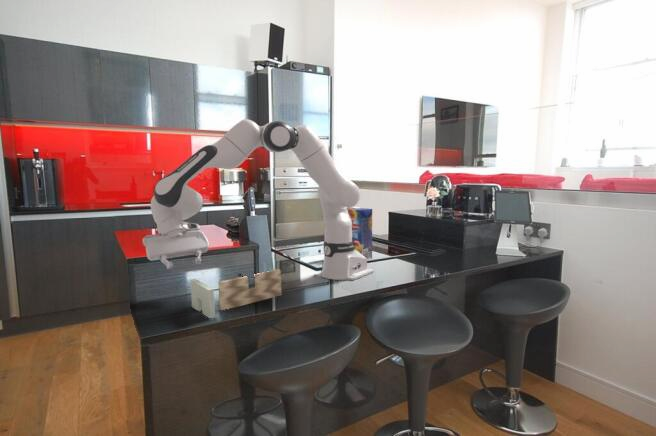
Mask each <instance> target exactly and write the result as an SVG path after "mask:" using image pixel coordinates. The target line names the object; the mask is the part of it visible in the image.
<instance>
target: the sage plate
mask: <svg viewBox="0 0 656 436" xmlns="http://www.w3.org/2000/svg"><path fill="white" fill-rule="evenodd" d="M189 281H190V294H191V295H190V297H191V299H190V300H191V307H192V308H193V309H194V310H196V311H197V310H198V311H199V312H202V315H203V314H204V315H205V316H207V317H208V318H214V317H215V318H216V309H215V306H216V305H215V293H214V292H215V291H214V290H215V289H214V288H213V287H211V286H208V285H207V284H205V283H204V282H202V281H200V280H198V279H197V278H193V279H190V280H189ZM201 310H202V311H201ZM198 311H197V312H198ZM204 315H203V316H204ZM205 316H204V317H205ZM207 317H206V318H207ZM208 318H207V319H208Z"/></svg>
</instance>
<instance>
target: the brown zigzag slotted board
mask: <svg viewBox="0 0 656 436" xmlns="http://www.w3.org/2000/svg"><path fill="white" fill-rule="evenodd" d="M270 270H271V269H270ZM281 272H282V270H281V269H280V268H277V269H273V270H271V271H267V272H262V273H257V274H254V277H255V278H254V287H249V279H248V277H247V276H243V277H242V276H240V277H235V278H230V279H226V280H221V281H218V294H219V310H220V309H221V310H220V311H222V310H224V311H226V310H225V309H227V310H230V308H231V309H234V308H238V307H242V306H245V305H249V304H252V303H257V302H260V301H264V300H268V299H272V298H275V297H279V296H282V273H281Z"/></svg>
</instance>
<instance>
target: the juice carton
mask: <svg viewBox="0 0 656 436" xmlns="http://www.w3.org/2000/svg"><path fill="white" fill-rule="evenodd" d="M347 210H348V214H349V217H350V219H351V222H352V241H353V242H354V241H359V242H360V245H359V246H355V250H357V251H358V252H359V253H360V254H362V255H363V256H364V257H365V258H366V260H367V259H368V260H372V259H373V208H367V207H357V206H356V207H355V206H353V207H350V208H347ZM368 260H367V261H368Z"/></svg>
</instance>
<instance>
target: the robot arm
mask: <svg viewBox="0 0 656 436" xmlns="http://www.w3.org/2000/svg"><path fill="white" fill-rule="evenodd" d="M258 148H261V149H263V150H265V151H268V152H272V153H280V152H281V153H282V152H285V151H288V150H291V151H292V153H294V155H295V156H296V157H297V159H298V160H299V162H300V164H301V165H302V167H303V168H304V169H305V171H306V173H307V174H308V175H309V177H310V179H312V181H314V182H315V183H316V184H317V185H318V188H317V196H318V198H319V201H320V208H321V212H322V217H323V223H324V225H323V226H324V228H323V229H324V241H323V254H324V255H323V264H322V270H321V273H320V276H321V277H322V278H324V279H329V280H338V281H339V280H346V281H348V280H350V281H355V280H357V279H359V278H363V277H365V276H367V275H369V274H372V273H373V272H374V269H372V268H371V267H370V266H368V260H366V258H365V257H364V256H363V255H362V254H360V253H359V252H358V251H357V250H355V246H359V245H360V242H359V241H354V242H353V241H352V222H351V219H350V217H349V214H348V210H347V208H352V207H355V206H356V205H357V204H358V203H359V202H360V199H361V190H360V188H359V187H358V185H357V184H355V182H354V181H352V180H351V179H350V178H349V176H348V175H347V174H346V173H345V172H344V171H343V170H342V169H341V168H340V166H339V165H338V164H337V162H335V160H334V158H333V157H332V155H331V154H330V153H329V150H328V149H327V148H326V146H325V144H324V143H323V141H322V140H321V139H320V137H319V136H318V135H317V133H316V132H315V131H314V130H313V129H312V128H311V127H310V126H309V125H307V124H299V125H297V126H295V127H293V126H291V125H290V124H289V123H287V122H284V121H282V120H281V121H280V120H276V121H275V120H274V121H269V122H268V123H266V124H264V125H258V124H257V123H256V122H255V121H253V120H251V119H247V118H244V119H241V120H240V121H239V122H237V123H236V124H235V125H233V126H232V127H231V128H230V129H229V130H228V131H227V132H226V133H225V134H224V135H223V136H222V137H220V139H219V140H217V141H216V142H214V143H212V144H208V145H205V146H203V147H201V148H200V149H199V150H197V151H196V152H195V153H194V154H193V155H191V156H190V157H188V159H186V160H185V161H183V163H181V164H180V165H179V166H178V167H176V168H175V169H174V170H173V171H172V172H170V173H169V174H167V175H165V176H164V177H162V178H161V179H159V180H158V181H157V182H156V183H155V186H154V189H153V190H154V191H153V196H152V198H151V201H150V211H151V215H152V217H153V220H154V223H155V224H156V229H157V232H158V233H156V234H155V233H154V234H148V235H145V236H144V237H143V238H142V241H141V242H142V245H143V246H144V247H145V252H146V257H147V260H149V261H150V262H154V261H159V260H160V262H161V263H162V264H163V265H164V266H166V269H167V270H171V269H173V267H174V263H173V262H172V261H169V260H168V259H172V258H179V257H186V256H191V255H195V256H196V257H195V258H194V262H195V265H199V264H200V265H201V264H202V259H201V256H202V254H204V253H207V252H208V250H209V249H210V245H211V244H210V242H209V240H208V237H207V236H206V234H205V233H204V232H203V231H202V230H201V226H200V224H198V223H193V222H188V221H186V220H188V219H190V218H192V217H194V216H196V215H197V214H198V213H200V211H201V210H202V208H203V205H204V198H203V196H202V194H201V193H199V192H198V191H196V190H195V189H194V188H192V187H190V186H189V185H188V183H190V182H191V181H192V180H193V179H194V178H196V177H197V175H199V174H201V172H202V171H204V170H206V169H208V168H219V169H224V170H232V169H236V168H238V167H239V166H241V165H242V164H243V163H244V162H245V161H246V160H247V159H248V157H249V156H250V155H251V154H252V152H254V151H255V150H256V149H258Z"/></svg>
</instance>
